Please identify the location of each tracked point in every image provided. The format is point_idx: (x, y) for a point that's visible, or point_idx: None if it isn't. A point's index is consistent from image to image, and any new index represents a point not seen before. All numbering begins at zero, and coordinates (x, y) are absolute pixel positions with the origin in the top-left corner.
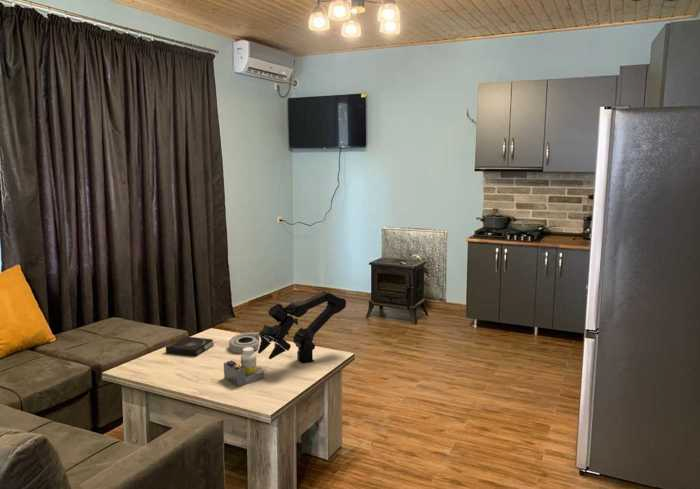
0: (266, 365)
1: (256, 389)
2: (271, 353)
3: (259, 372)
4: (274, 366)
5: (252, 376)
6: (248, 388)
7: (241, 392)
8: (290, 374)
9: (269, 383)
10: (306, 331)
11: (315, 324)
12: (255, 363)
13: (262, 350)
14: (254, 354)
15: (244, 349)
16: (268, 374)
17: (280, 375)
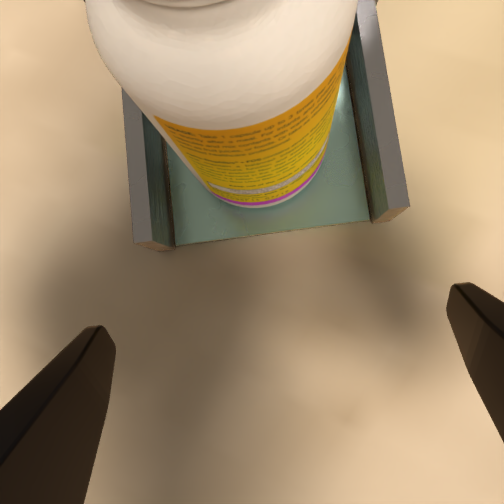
0: (448, 409)
1: (5, 112)
2: (29, 397)
3: (146, 194)
4: (376, 468)
5: (127, 114)
6: (56, 67)
7: (25, 2)
8: (101, 499)
9: (41, 243)
10: None
11: None
12: (159, 131)
13: (484, 387)
14: (144, 57)
15: None
16: (218, 320)
17: (134, 405)
